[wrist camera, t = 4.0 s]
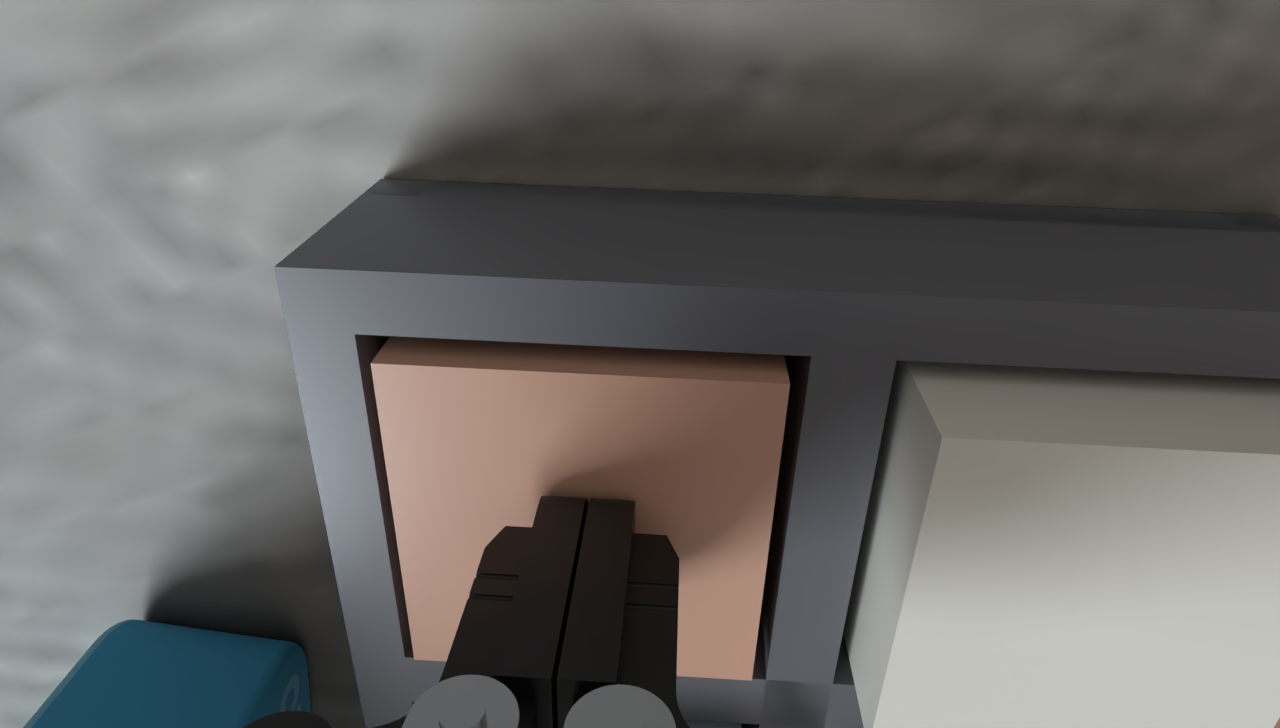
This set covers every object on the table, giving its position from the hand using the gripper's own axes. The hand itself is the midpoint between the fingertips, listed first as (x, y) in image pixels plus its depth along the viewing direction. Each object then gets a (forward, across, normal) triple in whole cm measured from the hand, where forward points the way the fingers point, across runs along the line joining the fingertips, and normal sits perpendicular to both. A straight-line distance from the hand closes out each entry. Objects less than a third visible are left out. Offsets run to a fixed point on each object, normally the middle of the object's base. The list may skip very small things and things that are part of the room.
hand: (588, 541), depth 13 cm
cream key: (+2, -8, 0) cm, 8 cm away
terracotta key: (+3, 0, 0) cm, 3 cm away
